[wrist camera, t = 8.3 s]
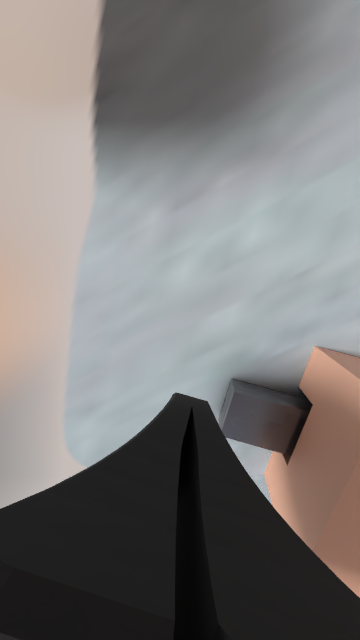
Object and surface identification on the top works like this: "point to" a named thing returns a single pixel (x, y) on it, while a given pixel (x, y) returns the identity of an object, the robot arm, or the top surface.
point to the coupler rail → (263, 417)
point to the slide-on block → (325, 466)
